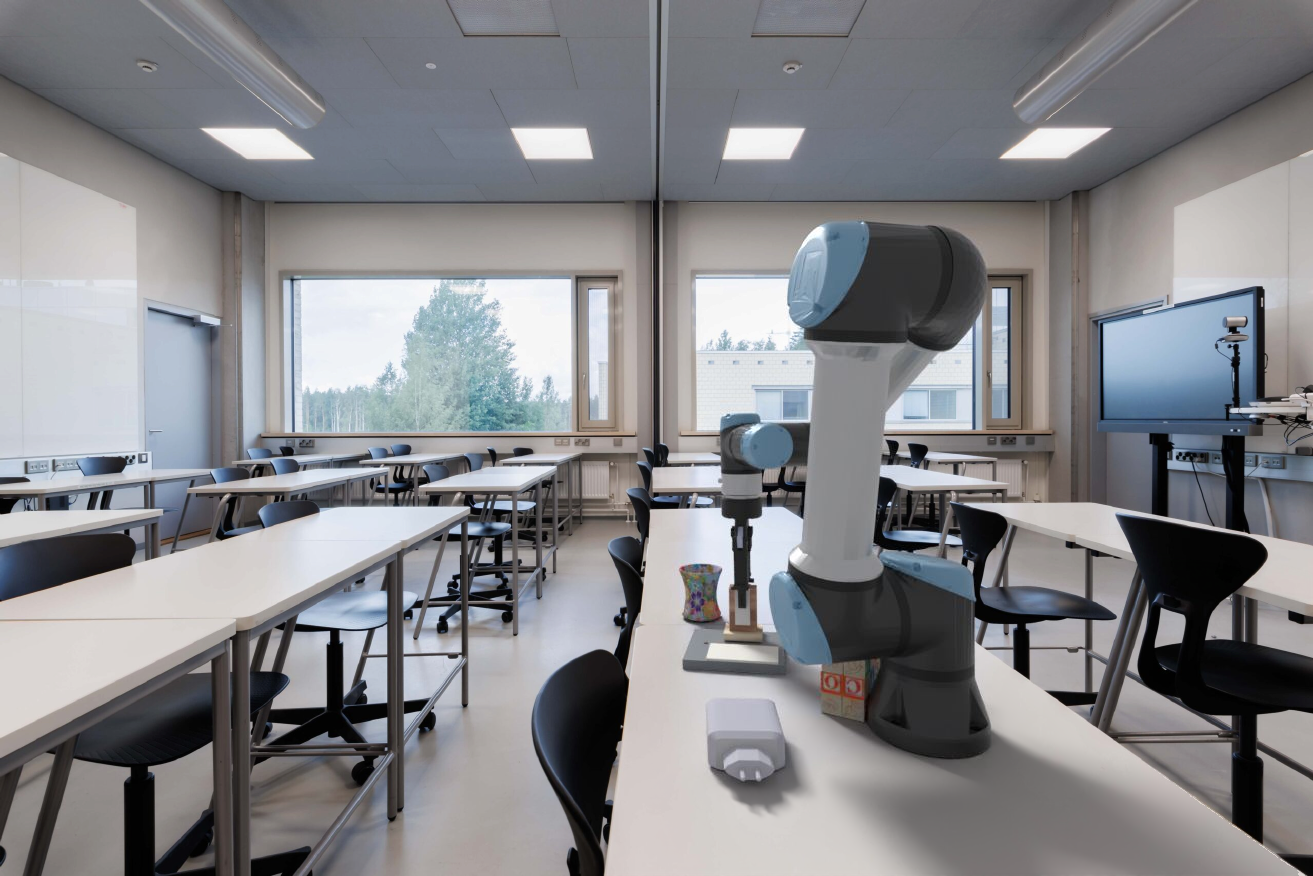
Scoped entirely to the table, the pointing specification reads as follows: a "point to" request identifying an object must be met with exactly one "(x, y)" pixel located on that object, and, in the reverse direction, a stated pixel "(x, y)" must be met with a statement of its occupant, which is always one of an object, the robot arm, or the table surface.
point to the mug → (701, 591)
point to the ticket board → (734, 653)
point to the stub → (743, 631)
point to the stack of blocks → (848, 688)
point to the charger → (744, 737)
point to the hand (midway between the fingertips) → (743, 621)
